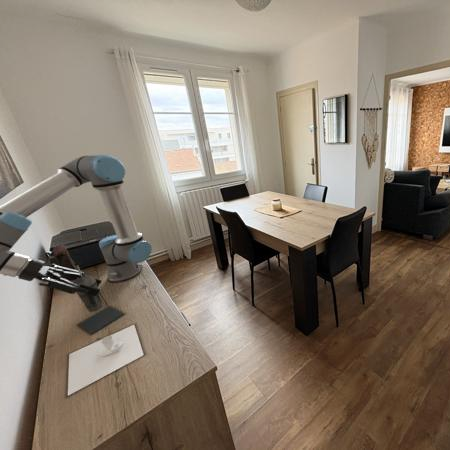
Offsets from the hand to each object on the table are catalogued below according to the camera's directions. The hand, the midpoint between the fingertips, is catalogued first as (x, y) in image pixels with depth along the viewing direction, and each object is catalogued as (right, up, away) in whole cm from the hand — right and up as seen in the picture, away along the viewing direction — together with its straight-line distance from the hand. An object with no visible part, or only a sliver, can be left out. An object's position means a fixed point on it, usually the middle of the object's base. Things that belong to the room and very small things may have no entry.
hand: (98, 288), depth 98 cm
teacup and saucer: (+14, -20, -13) cm, 28 cm away
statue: (-46, -4, +37) cm, 59 cm away
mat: (-2, -14, +4) cm, 15 cm away
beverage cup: (-2, -9, +1) cm, 9 cm away
